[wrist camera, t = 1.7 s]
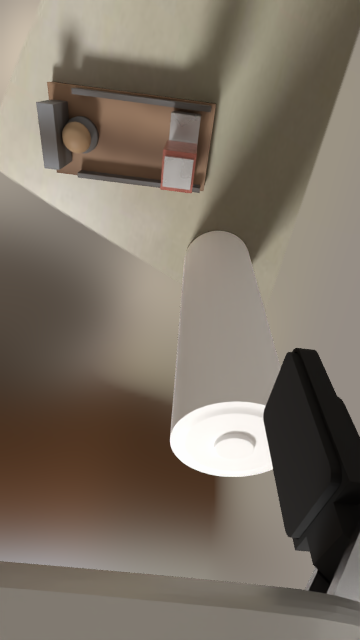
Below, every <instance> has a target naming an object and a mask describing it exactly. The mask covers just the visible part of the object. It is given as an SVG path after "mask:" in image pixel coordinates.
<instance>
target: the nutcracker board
mask: <svg viewBox="0 0 360 640" xmlns="http://www.w3.org/2000/svg"><path fill="white" fill-rule="evenodd" d="M47 85H48V94H49V100H46V101H40V102H36V104H37V112H38V120H39V128H40V135H41V143H42V151H43V159H44V167H45V168H48V169H56V170H57V173H65V174H73V175H78V177H79V178H87V179H95V180H103V181H110V182H118V183H126V184H134V185H142V186H150V187H158V188H160V187H161V173H162V159H163V149H164V147H165V145H166V143H167V141H168V140H169V135H170V122H171V113H172V111H173V110H175V111H182V112H190V113H197V114H201V119H200V127H199V135H198V143H197V156H196V163H195V171H194V179H193V187H192V192H197V193H199V192H200V191H203V190H204V183H205V176H206V169H207V162H208V156H209V149H210V142H211V135H212V128H213V121H214V115H215V108H216V104H214V103H207V102H199V101H192V100H184V99H177V98H169V97H162V96H155V95H147V94H140V93H132V92H125V91H117V90H110V89H103V88H95V87H88V86H80V85H73V84H65V83H58V82H47Z"/></svg>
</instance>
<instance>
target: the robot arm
mask: <svg viewBox="0 0 360 640" xmlns="http://www.w3.org/2000/svg"><path fill="white" fill-rule="evenodd" d="M263 421H264V426H265V431H266V436H267V441H268V446H269V451H270V456H271V461H272V466H273V471H274V476H275V481H276V486H277V491H278V496H279V501H280V507H281V512H282V517H283V522H284V527H285V531H286V533H287V535H288V537H293V542H294V547H295V550H299V551H310V553H311V558H312V562H313V565H314V566H315V569H314V571H313V573H312V575H311V577H310V580H309V581H308V584H307V586H306V588H305V590H301V589H291V588H283V587H274V586H265V585H256V584H247V583H237V582H228V581H218V580H207V579H195V578H185V577H173V576H163V575H152V574H141V573H130V572H119V571H108V570H96V569H84V568H73V567H62V566H50V565H38V564H27V563H15V562H4V561H0V640H360V437H359V435H358V432H357V430H356V428H355V426H354V424H353V422H352V419H351V417H350V415H349V413H348V411H347V409H346V406H345V404H344V403H343V401H342V400H341V399H340V398H339V397H337V395H336V393H335V391H334V388H333V386H332V384H331V382H330V379H329V377H328V375H327V373H326V370H325V368H324V366H323V364H322V362H321V359H320V357H319V355H318V353H317V352H316V351H315V350H310V349H301V348H295V349H294V350H293V352H288V353H287V354H286V356H285V359H284V361H283V364H282V366H281V369H280V371H279V374H278V376H277V379H276V381H275V384H274V386H273V389H272V391H271V394H270V396H269V399H268V401H267V404H266V406H265V409H264V413H263Z"/></svg>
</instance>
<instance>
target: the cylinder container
mask: <svg viewBox="0 0 360 640" xmlns="http://www.w3.org/2000/svg"><path fill="white" fill-rule="evenodd" d="M280 369H281V367H280V363H279V360H278V356H277V353H276V349H275V345H274V342H273V338H272V334H271V331H270V327H269V324H268V320H267V316H266V313H265V309H264V306H263V302H262V299H261V295H260V291H259V288H258V284H257V281H256V277H255V273H254V270H253V266H252V263H251V259H250V255H249V252H248V249H247V247H246V245H245V243H244V242H243V241H242V240H241V239H240V238H239V237H237V236H236V235H234V234H232V233H229V232H226V231H211V232H207V233H204V234H202V235H200V236H199V237H197V238H196V239H195V240H194V241H193V242H192V243H191V244H190V245H189V247H188V249H187V251H186V254H185V259H184V271H183V284H182V296H181V310H180V322H179V334H178V346H177V360H176V372H175V384H174V397H173V409H172V422H171V436H170V444H171V448H172V450H173V452H174V453H175V455H176V456H177V457H178V458H179V459H180V460H181V461H182V462H183V463H185V464H186V465H188V466H189V467H191V468H193V469H195V470H198V471H200V472H204V473H207V474H211V475H217V476H227V477H238V476H239V477H240V476H249V475H255V474H259V473H263V472H266V471H269V470H272V469H273V466H272V461H271V456H270V451H269V446H268V441H267V436H266V431H265V426H264V421H263V413H264V409H265V406H266V404H267V401H268V399H269V396H270V394H271V391H272V389H273V386H274V384H275V381H276V379H277V376H278V374H279V371H280Z"/></svg>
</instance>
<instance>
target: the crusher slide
mask: <svg viewBox="0 0 360 640" xmlns="http://www.w3.org/2000/svg"><path fill="white" fill-rule="evenodd" d="M200 119H201V114H197V113H190V112H182V111H175V110H173V111H172V113H171V122H170V135H169V140H168V141H167V143H166V145H165V147H164V149H163V159H162V173H161V187H160V189H162V190H169V191H177V192H185V193H192V187H193V179H194V171H195V163H196V156H197V143H198V135H199V127H200Z"/></svg>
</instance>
